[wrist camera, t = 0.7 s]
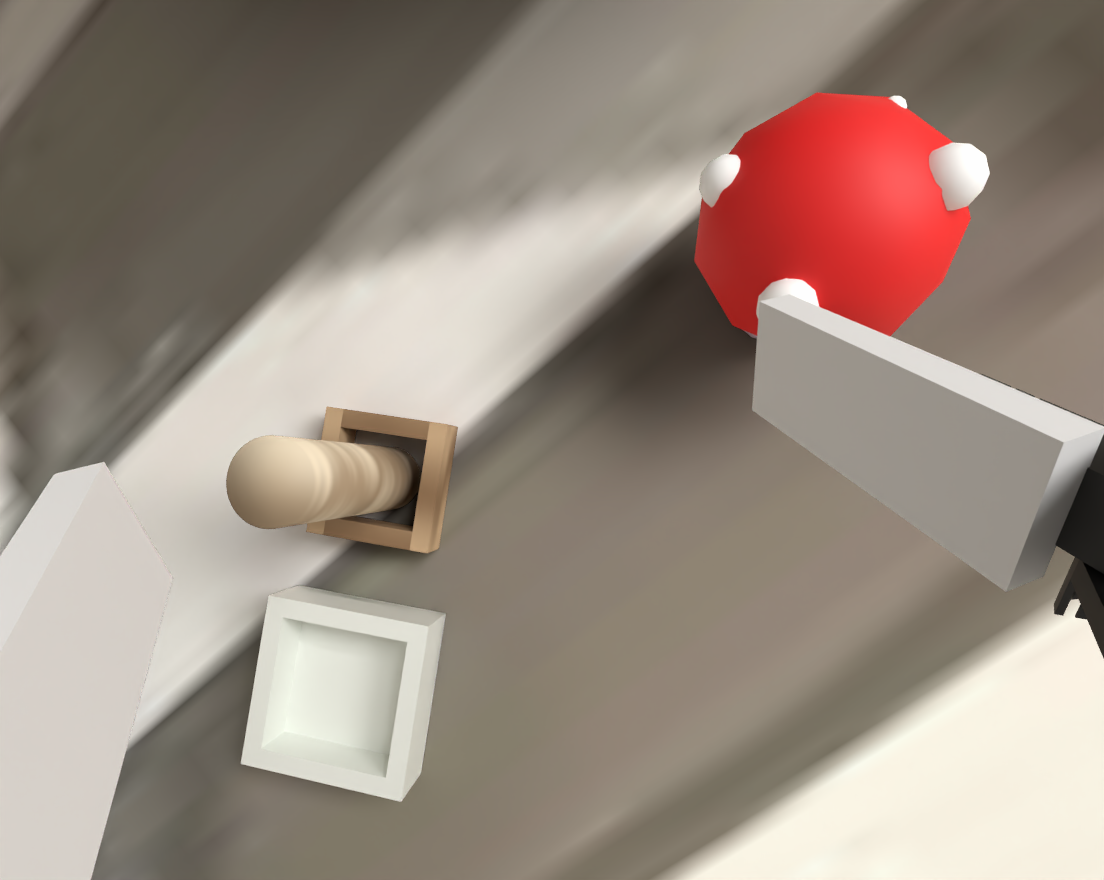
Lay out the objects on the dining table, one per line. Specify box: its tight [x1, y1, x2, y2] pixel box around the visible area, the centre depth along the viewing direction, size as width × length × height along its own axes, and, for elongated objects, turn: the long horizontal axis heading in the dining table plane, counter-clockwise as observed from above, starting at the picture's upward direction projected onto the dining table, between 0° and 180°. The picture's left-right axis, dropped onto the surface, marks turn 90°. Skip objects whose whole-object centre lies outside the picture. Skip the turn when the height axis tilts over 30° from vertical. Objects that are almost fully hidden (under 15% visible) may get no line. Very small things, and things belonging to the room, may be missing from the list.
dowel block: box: [306, 407, 458, 553], centre depth 35 cm, size 7×7×2 cm
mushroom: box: [694, 93, 990, 339], centre depth 27 cm, size 11×11×12 cm
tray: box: [241, 585, 446, 802], centre depth 34 cm, size 9×9×3 cm
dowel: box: [226, 435, 420, 529], centre depth 30 cm, size 4×4×12 cm
